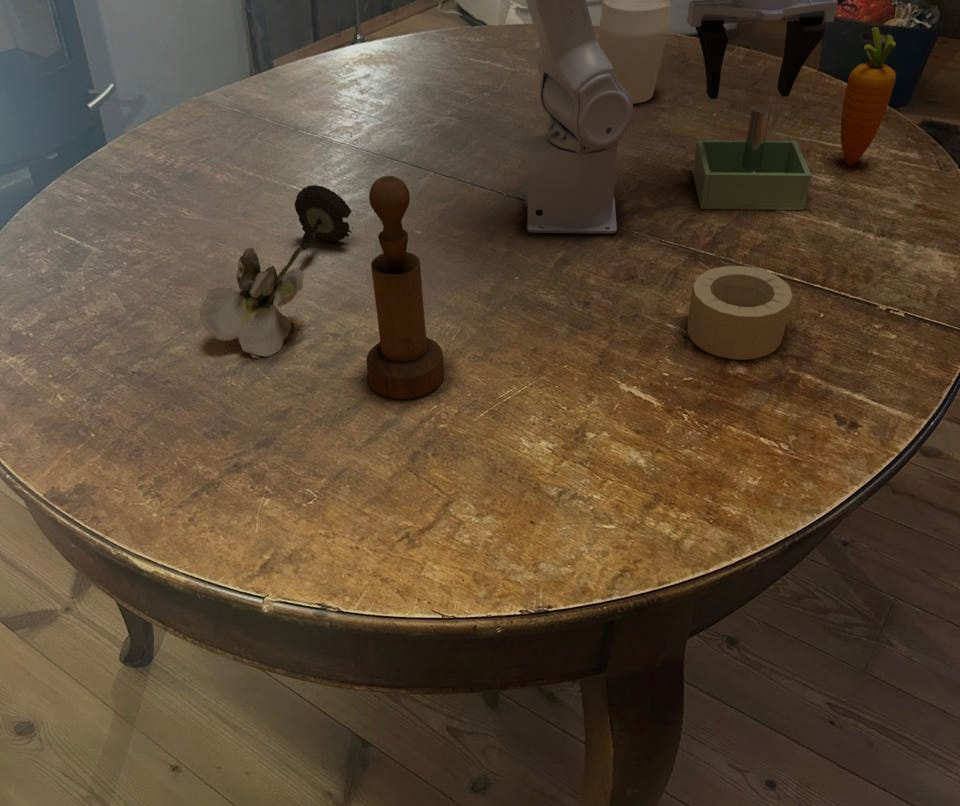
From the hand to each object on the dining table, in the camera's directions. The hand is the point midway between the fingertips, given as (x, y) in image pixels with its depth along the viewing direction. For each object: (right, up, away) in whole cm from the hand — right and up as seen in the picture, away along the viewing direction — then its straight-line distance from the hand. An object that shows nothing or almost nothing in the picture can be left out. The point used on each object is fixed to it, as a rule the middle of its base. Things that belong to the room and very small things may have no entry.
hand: (747, 94), depth 99 cm
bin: (+2, -8, +6) cm, 11 cm away
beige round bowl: (-5, -28, -15) cm, 32 cm away
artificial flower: (-47, -23, -8) cm, 53 cm away
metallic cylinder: (+2, -8, +6) cm, 10 cm away
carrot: (+15, -4, +11) cm, 19 cm away
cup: (-8, +11, +28) cm, 32 cm away
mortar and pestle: (-35, -32, -18) cm, 51 cm away
